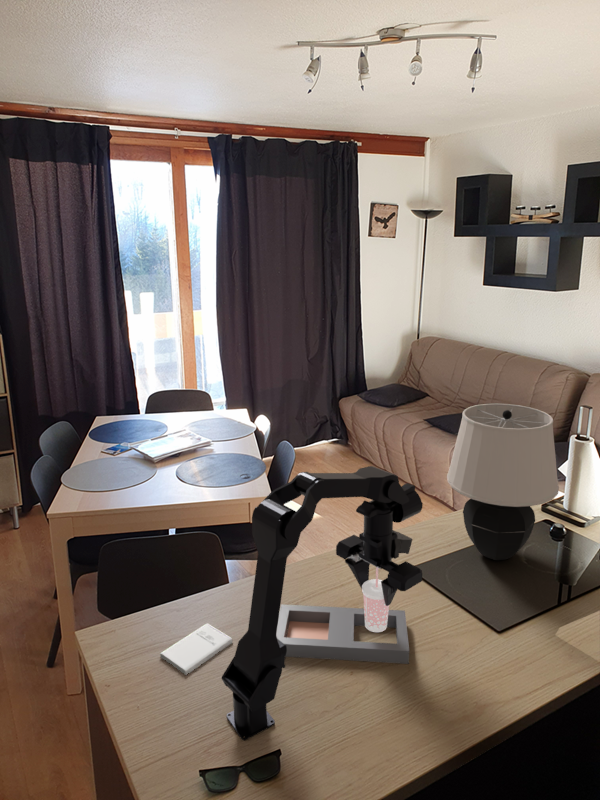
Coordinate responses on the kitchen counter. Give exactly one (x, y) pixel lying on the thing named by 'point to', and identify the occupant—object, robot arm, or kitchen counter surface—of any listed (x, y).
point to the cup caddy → (338, 634)
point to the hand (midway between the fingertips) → (376, 597)
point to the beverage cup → (374, 605)
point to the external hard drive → (196, 648)
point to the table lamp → (503, 474)
